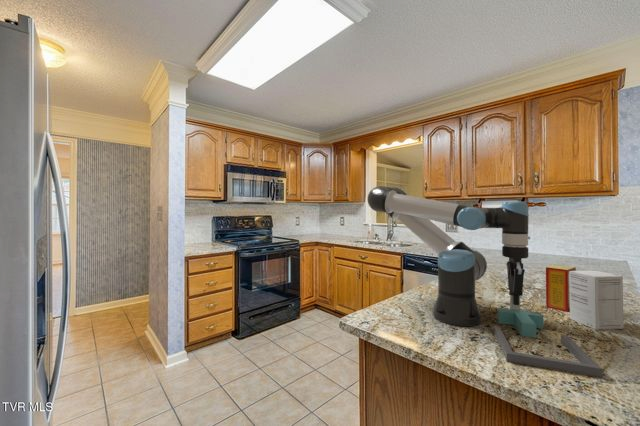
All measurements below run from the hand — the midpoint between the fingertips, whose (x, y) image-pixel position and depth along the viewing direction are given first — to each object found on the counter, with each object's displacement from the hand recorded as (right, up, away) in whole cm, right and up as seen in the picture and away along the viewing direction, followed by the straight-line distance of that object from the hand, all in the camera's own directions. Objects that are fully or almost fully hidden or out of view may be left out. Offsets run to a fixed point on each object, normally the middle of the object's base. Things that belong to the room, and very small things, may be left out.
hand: (515, 313), depth 98 cm
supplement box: (+23, -2, -5) cm, 24 cm away
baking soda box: (+26, -2, +11) cm, 28 cm away
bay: (-10, -2, -23) cm, 25 cm away
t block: (-4, -2, -9) cm, 10 cm away
